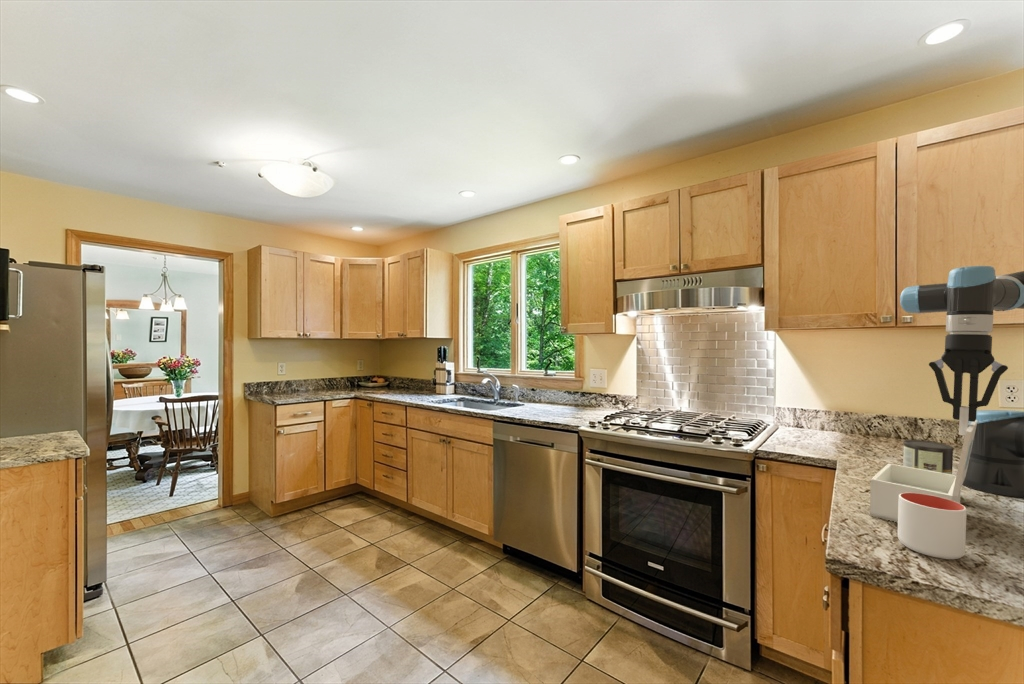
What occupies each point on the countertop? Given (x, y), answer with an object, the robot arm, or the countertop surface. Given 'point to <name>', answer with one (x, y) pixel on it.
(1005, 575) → the countertop surface
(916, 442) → the coffee can
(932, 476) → the box
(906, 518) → the cup
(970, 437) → the lid
